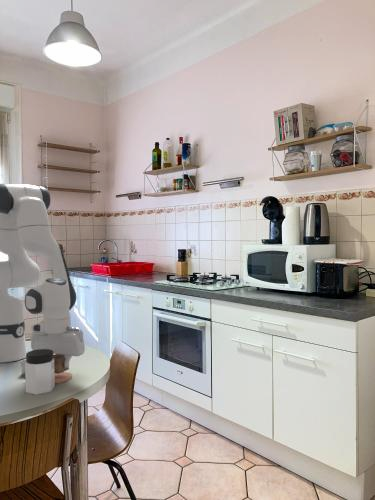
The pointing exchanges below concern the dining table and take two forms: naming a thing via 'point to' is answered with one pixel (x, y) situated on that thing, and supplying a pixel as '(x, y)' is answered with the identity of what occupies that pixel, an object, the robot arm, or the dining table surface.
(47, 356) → the jar
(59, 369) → the walnut block
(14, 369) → the dining table surface
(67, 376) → the pink glossy round part
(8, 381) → the dining table surface
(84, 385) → the dining table surface
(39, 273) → the robot arm
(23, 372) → the tin
